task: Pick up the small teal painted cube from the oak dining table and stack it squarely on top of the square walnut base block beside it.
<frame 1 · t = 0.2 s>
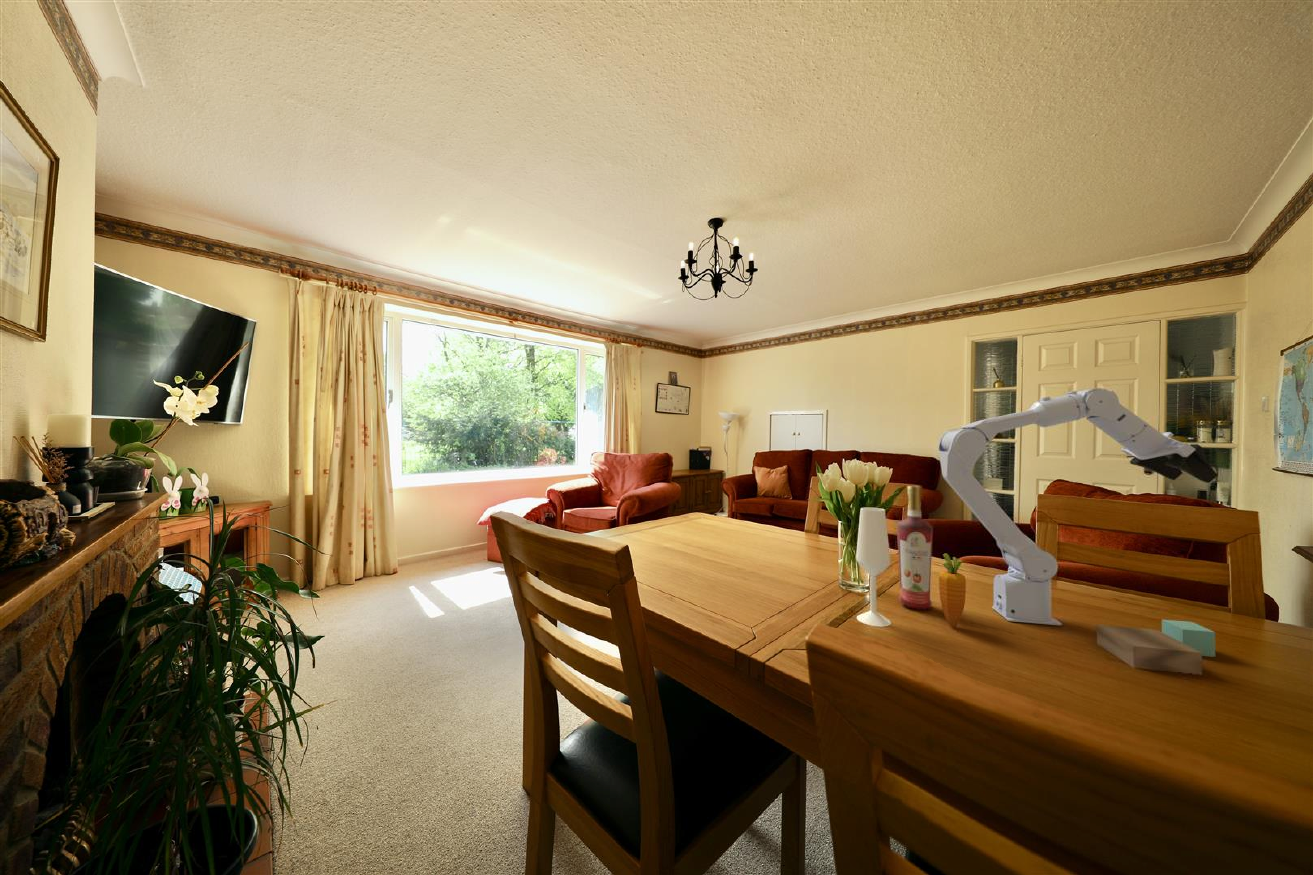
hand: (1194, 477, 88), 31 cm above the table, tool tilted 45°, fingers open, 7 cm apart
liquor: (915, 607, 103), on the table
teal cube: (1187, 650, 81), on the table
walnut base block: (1145, 660, 78), on the table
carrot: (952, 628, 91), on the table
champagne flute: (873, 620, 95), on the table
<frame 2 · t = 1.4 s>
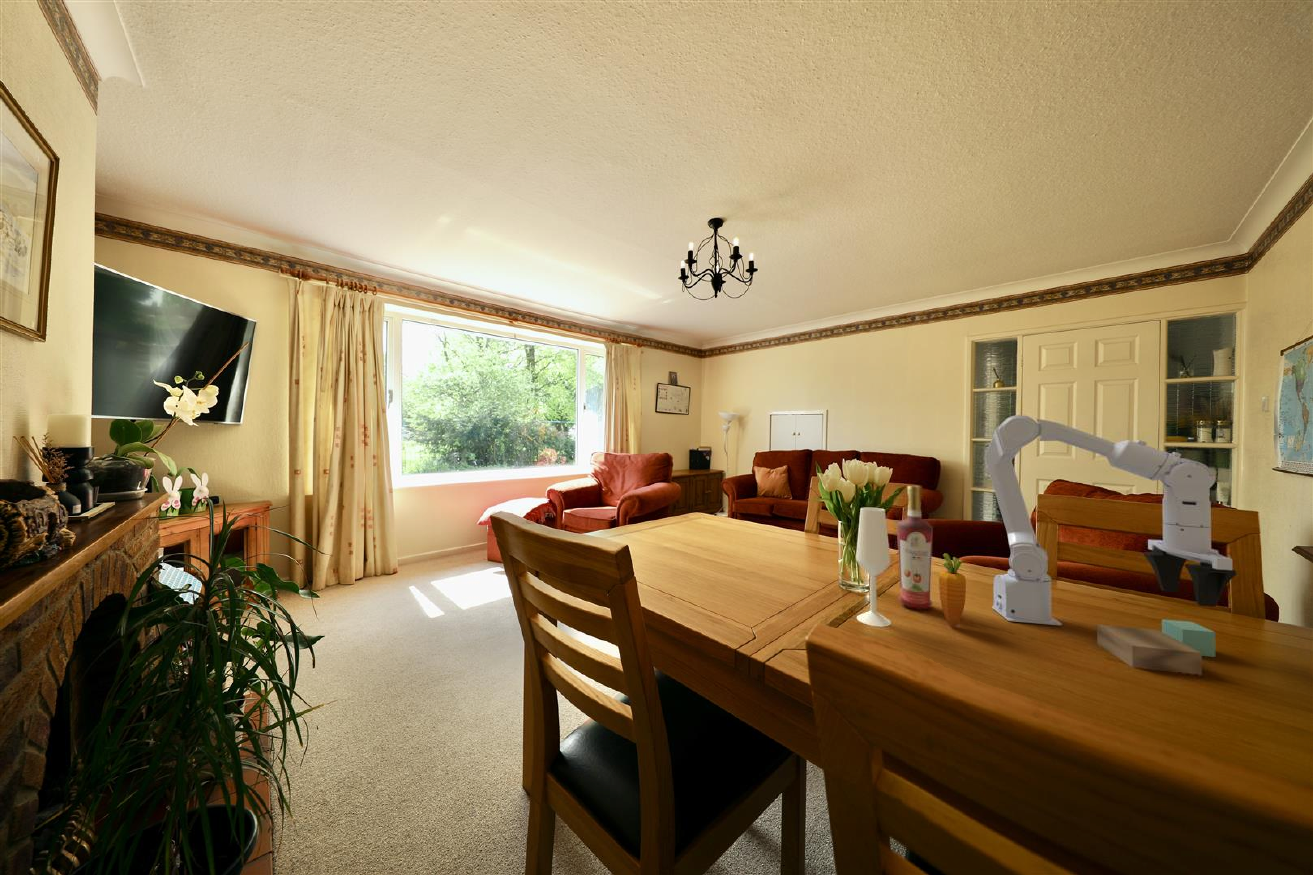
hand: (1187, 598, 81), 9 cm above the table, tool pointing down, fingers open, 7 cm apart
nothing on the table moved.
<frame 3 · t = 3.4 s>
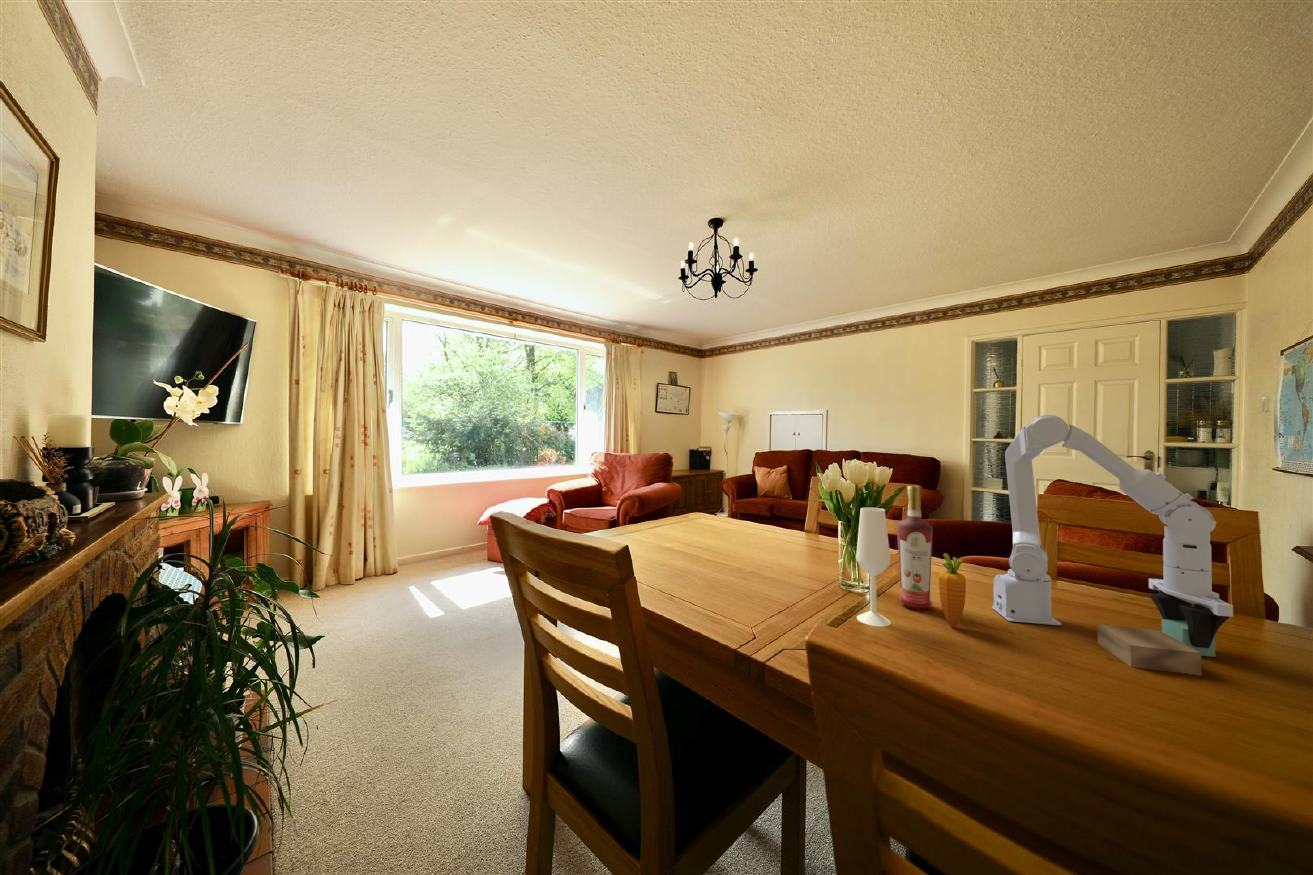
hand: (1187, 640, 81), 2 cm above the table, tool pointing down, fingers closed on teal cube, 4 cm apart
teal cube: (1187, 649, 81), on the table, touching gripper
everything else where it was.
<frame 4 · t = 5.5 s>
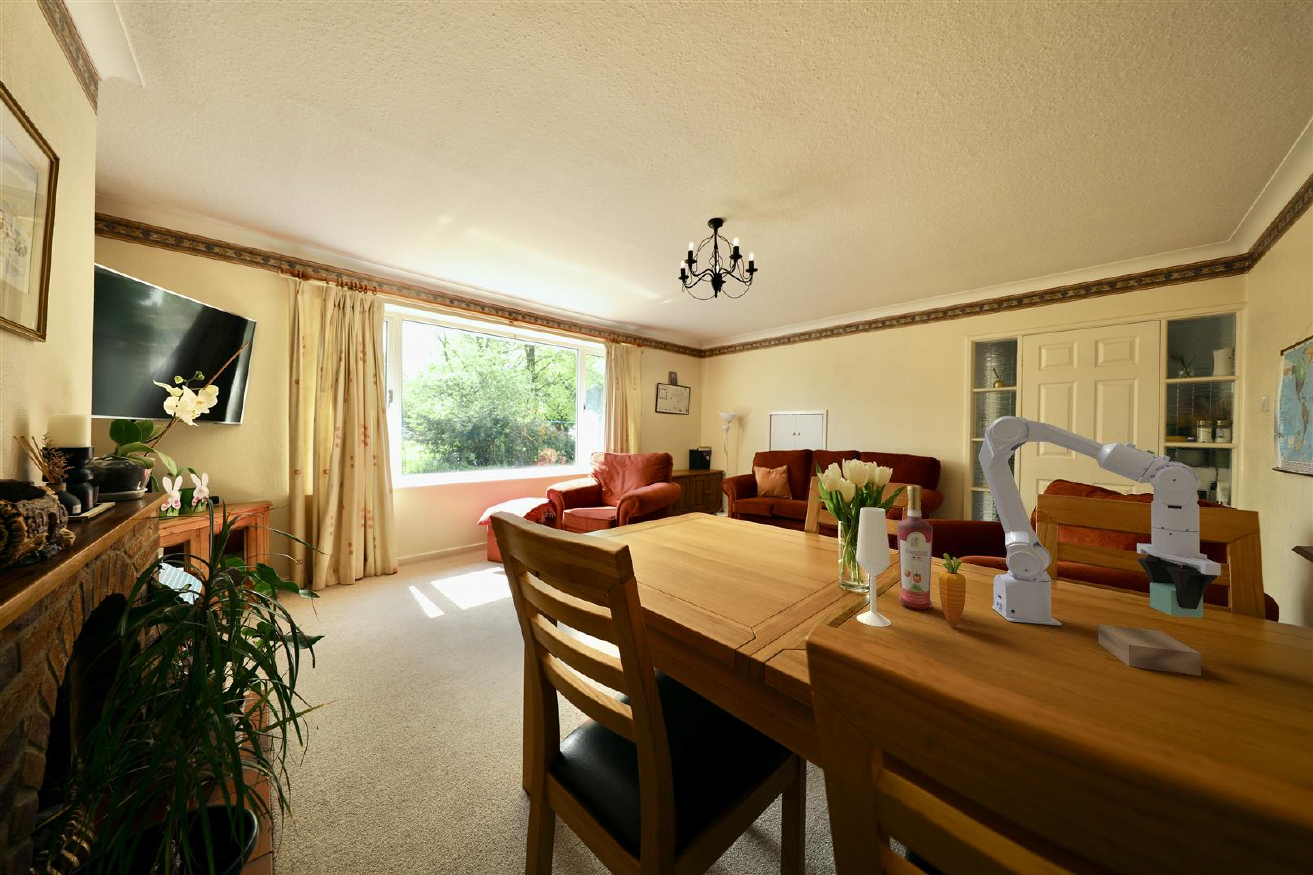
hand: (1175, 603, 81), 9 cm above the table, tool pointing down, fingers closed on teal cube, 4 cm apart
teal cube: (1175, 611, 81), point 7 cm above the table, touching gripper
everything else where it was.
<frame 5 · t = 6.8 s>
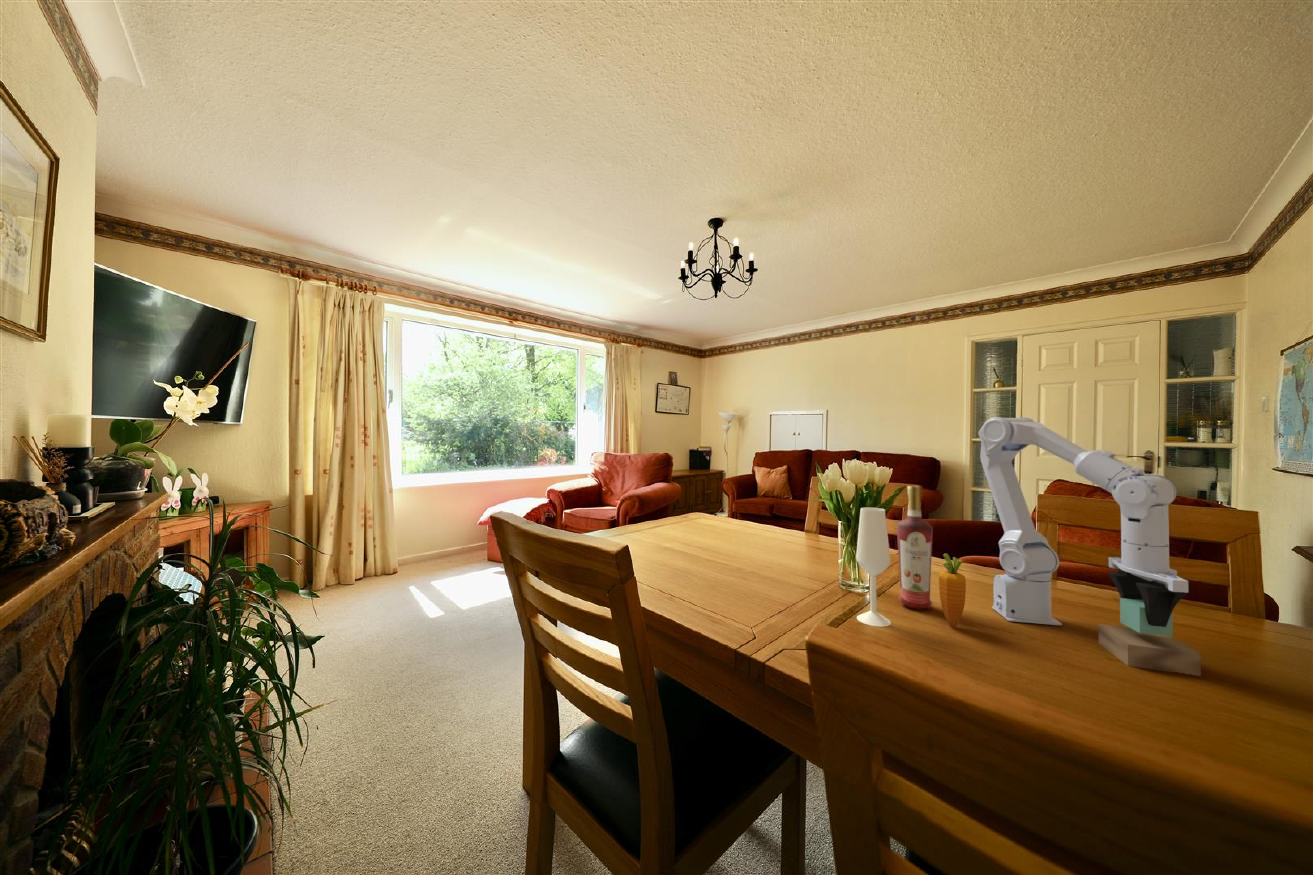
hand: (1145, 619, 78), 7 cm above the table, tool pointing down, fingers closed on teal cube, 4 cm apart
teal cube: (1145, 628, 78), point 5 cm above the table, touching gripper
everything else where it was.
when the fingers open (7 cm above the table, at t = 7.8 s): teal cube drops 2 cm, resting on walnut base block.
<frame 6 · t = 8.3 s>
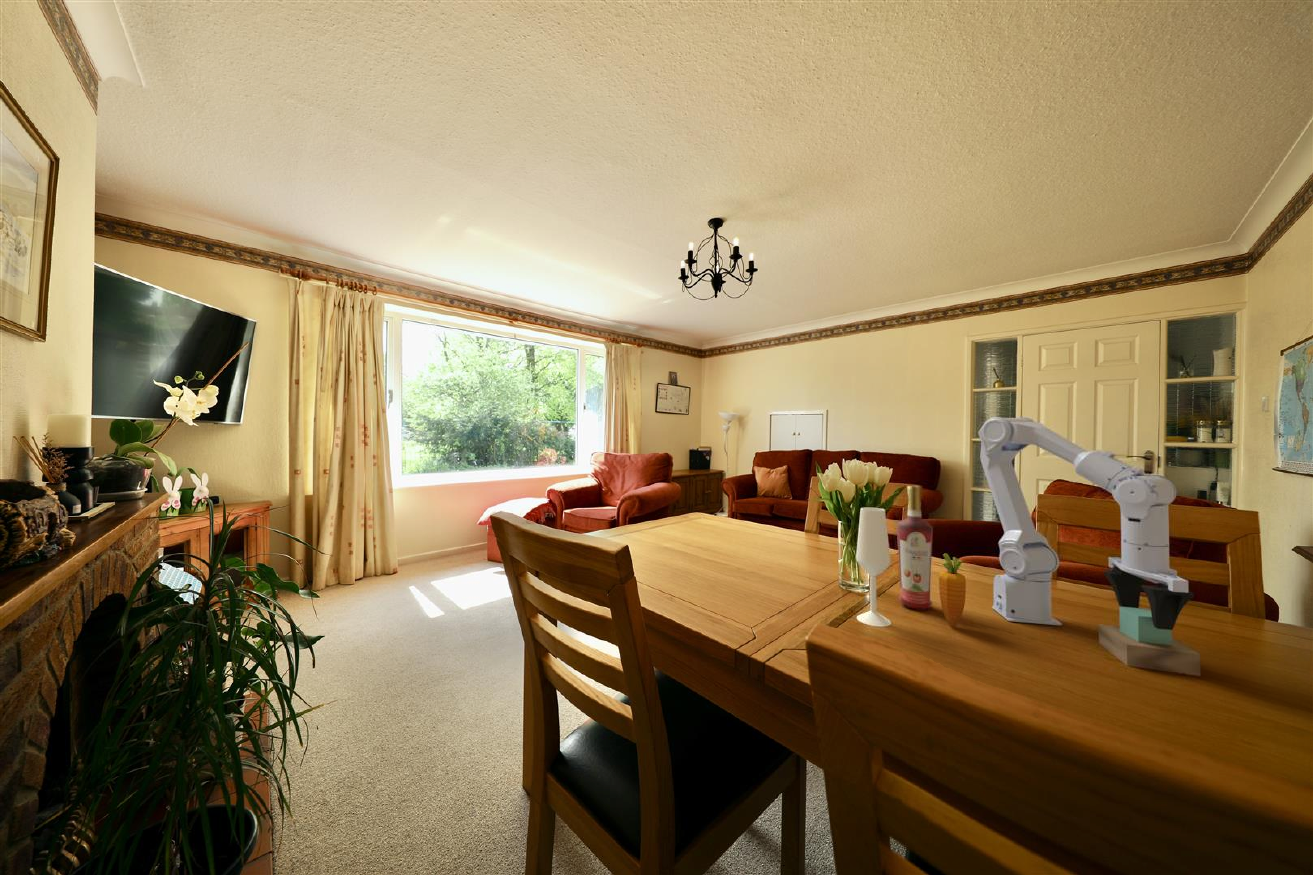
hand: (1145, 619, 78), 7 cm above the table, tool pointing down, fingers open, 7 cm apart
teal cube: (1144, 637, 78), point 4 cm above the table, touching walnut base block
walnut base block: (1145, 660, 78), on the table, touching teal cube
everything else where it was.
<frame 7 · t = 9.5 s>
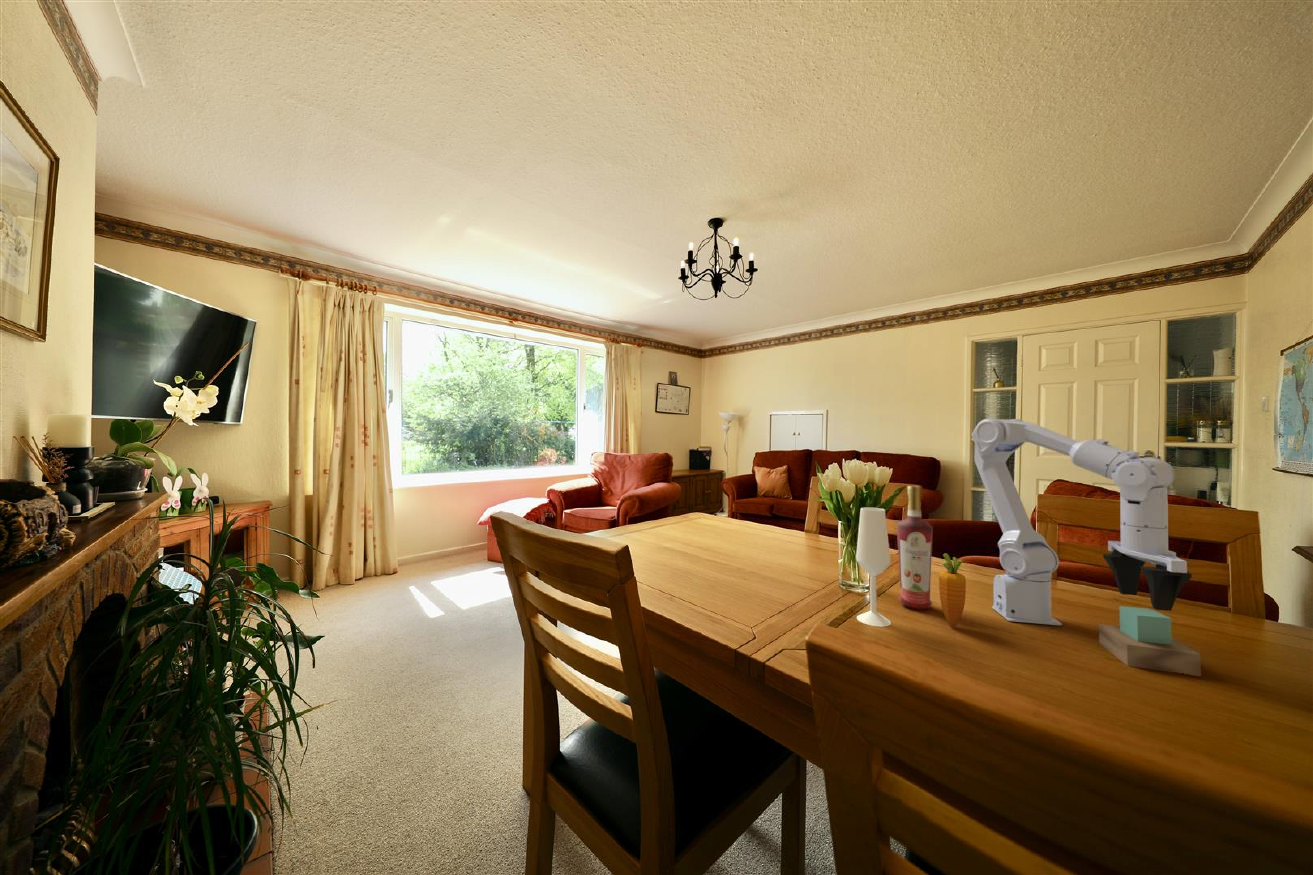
hand: (1144, 601, 79), 10 cm above the table, tool pointing down, fingers open, 7 cm apart
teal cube: (1144, 637, 78), point 4 cm above the table
walnut base block: (1146, 660, 78), on the table
everything else where it was.
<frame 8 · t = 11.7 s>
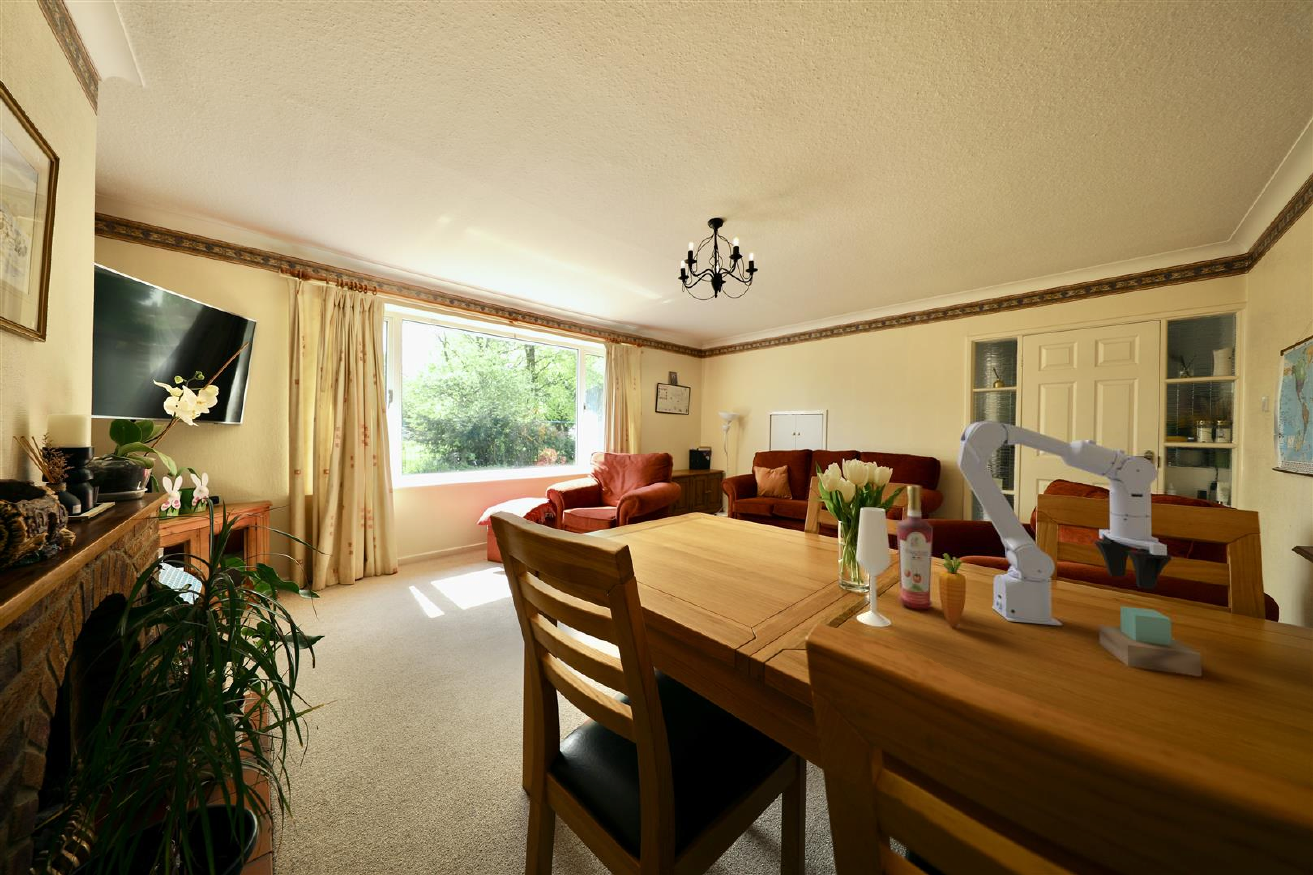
hand: (1130, 582, 89), 10 cm above the table, tool pointing down, fingers open, 7 cm apart
nothing on the table moved.
at the end: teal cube 0.2 cm from the walnut base block (horizontally); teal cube point 3.6 cm above the table; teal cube tilted 0° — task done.
